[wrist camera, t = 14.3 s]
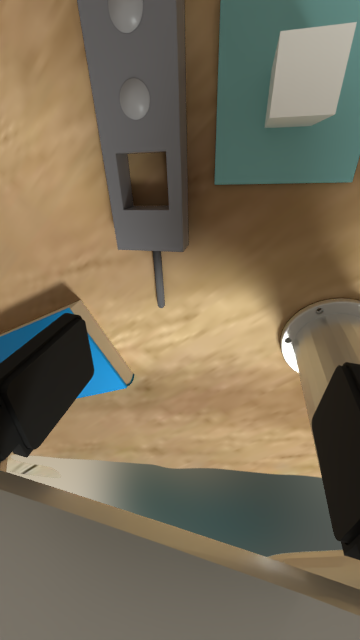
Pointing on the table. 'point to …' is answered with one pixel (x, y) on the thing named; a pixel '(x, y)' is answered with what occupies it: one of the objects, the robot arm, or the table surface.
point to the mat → (253, 88)
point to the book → (105, 357)
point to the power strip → (140, 113)
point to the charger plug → (308, 75)
